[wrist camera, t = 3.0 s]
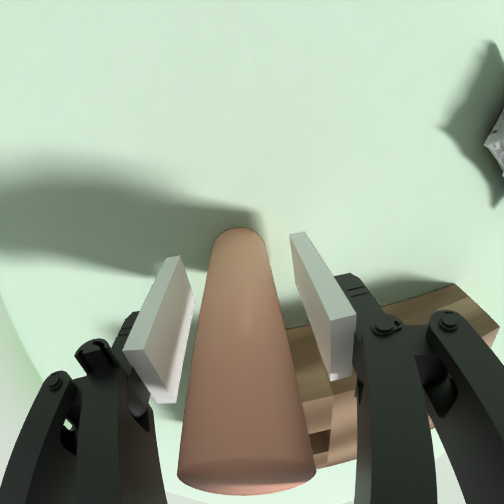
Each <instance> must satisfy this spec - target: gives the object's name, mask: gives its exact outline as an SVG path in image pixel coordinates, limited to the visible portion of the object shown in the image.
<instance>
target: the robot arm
mask: <svg viewBox="0 0 504 504" xmlns="http://www.w3.org/2000/svg"><path fill="white" fill-rule="evenodd" d="M289 236H290V244H291V251H292V259H293V267H294V275H295V283H296V286H297V289H298V291H299V294H300V297H301V300H302V302H303V305H304V308H305V311H306V313H307V316H308V319H309V322H310V324H311V327H312V330H313V333H314V336H315V339H316V341H317V344H318V347H319V350H320V353H321V356H322V359H323V362H324V365H325V367H326V370H327V373H328V376H329V379H330V381H334V380H338V379H342V378H346V377H349V376H352V368H353V367H354V370H355V372H356V374H357V381H356V388H355V395H354V397H357V466H356V485H355V498H354V504H437V485H436V471H435V461H434V452H433V444H432V437H431V431H430V425H429V419H428V414H429V416H430V418H431V420H432V422H433V424H434V426H435V428H436V431H437V433H438V435H439V437H440V439H441V442H442V444H443V446H444V448H445V451H446V453H447V455H448V458H449V460H450V462H451V465H452V467H453V470H454V472H455V475H456V477H457V480H458V482H459V485H460V487H461V490H462V493H463V496H464V499H465V502H466V504H504V365H503V364H502V363H501V361H500V360H499V359H498V357H497V356H496V355H495V354H494V352H493V351H492V350H491V349H490V347H489V346H488V345H487V344H486V343H485V341H484V340H483V339H482V338H481V337H480V335H479V334H478V333H477V332H476V331H475V329H474V328H473V327H472V326H471V325H470V324H469V323H468V321H467V320H466V319H465V318H464V317H463V316H462V315H460V314H459V313H457V312H454V311H452V310H440V311H437V312H435V313H433V314H432V316H431V317H430V319H429V323H428V324H424V325H404V323H403V322H402V320H400V319H399V318H397V317H396V316H393V315H390V314H385V312H384V311H383V309H382V308H381V307H380V305H379V304H378V303H377V301H376V300H375V298H374V297H373V296H372V294H371V293H370V292H369V290H368V289H367V288H366V287H365V285H364V284H363V282H362V281H361V280H360V278H358V277H356V276H354V275H353V274H351V273H348V274H343V275H338V276H333V275H332V273H331V271H330V270H329V268H328V267H327V265H326V264H325V262H324V260H323V259H322V257H321V256H320V254H319V253H318V251H317V250H316V248H315V246H314V245H313V243H312V242H311V240H310V239H309V237H308V236H307V234H306V233H305V232H300V233H294V234H289ZM194 306H195V298H194V295H193V292H192V289H191V286H190V283H189V280H188V277H187V274H186V271H185V268H184V264H183V261H182V258H181V255H178V256H173V257H168V258H166V259H165V261H164V263H163V265H162V267H161V269H160V271H159V273H158V275H157V277H156V279H155V281H154V283H153V285H152V287H151V289H150V291H149V293H148V295H147V297H146V299H145V301H144V304H143V306H142V308H141V310H140V311H137V312H132V313H131V314H130V315H129V316H128V317H127V318H126V319H125V321H124V323H123V325H122V327H121V330H120V331H119V333H118V337H116V339H115V341H114V344H113V346H112V348H111V347H110V346H109V344H108V342H107V341H106V340H104V339H100V338H99V339H93V340H90V341H88V342H86V343H84V344H83V345H82V346H81V347H80V348H79V349H78V350H77V351H76V353H75V355H74V356H75V358H76V359H77V361H78V362H79V363H80V365H81V366H82V368H83V369H84V371H85V372H86V373H87V376H85V377H81V378H77V379H73V380H72V378H71V377H70V376H69V375H68V373H67V372H65V371H57V372H54V373H52V374H51V375H50V376H49V377H47V379H46V380H45V381H44V383H43V385H42V387H41V389H40V391H39V393H38V395H37V397H36V399H35V401H34V403H33V405H32V407H31V409H30V411H29V413H28V416H27V418H26V420H25V422H24V424H23V427H22V429H21V431H20V434H19V436H18V438H17V441H16V443H15V446H14V448H13V451H12V454H11V457H10V459H9V462H8V465H7V468H6V471H5V474H4V477H3V480H2V484H1V487H0V504H167V499H166V495H165V490H164V485H163V479H162V474H161V468H160V462H159V455H158V448H157V441H156V433H155V425H154V415H153V410H152V408H151V406H150V405H149V404H148V402H149V398H150V395H151V396H152V398H153V399H154V400H155V402H156V403H157V404H166V403H176V401H177V395H178V389H179V383H180V378H181V372H182V367H183V361H184V356H185V351H186V345H187V340H188V335H189V330H190V325H191V320H192V316H193V311H194ZM427 412H428V414H427ZM65 419H67V420H68V421H69V422H70V423H71V424H72V425H73V426H72V428H71V429H70V430H68V429H67V428H66V427H65V426H64V425H63V424H64V422H65Z"/></svg>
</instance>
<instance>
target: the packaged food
mask: <svg viewBox="0 0 504 504" xmlns="http://www.w3.org/2000/svg"><path fill="white" fill-rule="evenodd" d="M485 142H486V143H484V146H486V147H487V148H488V149H489V150H490V151H491V153H492V155H493V156H494V157H495V158H496V160H497V162H498V164H499V165H500V167H501V169H502V171H503V177H504V109H503V111H502V112H501V113H500V115H499V118H498V120H497V122H496V124H495V126H494V128H493V130H492V131H491V133H490V134H489V136H488V137H487V140H486V141H485Z"/></svg>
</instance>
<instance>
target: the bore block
mask: <svg viewBox="0 0 504 504" xmlns="http://www.w3.org/2000/svg"><path fill="white" fill-rule="evenodd" d="M381 308H382V309H383V311H384V312H385V314H390V315H393V316H396V317H397V318H399V319H400V320H402V322H403V323H404V325H424V324H428V323H429V319H430V317H431V316H432V314H433V313H435V312H437V311H440V310H452V311H454V312H457V313H459V314H460V315H462V316H463V317H464V318H465V319H466V320H467V321H468V323H469V324H470V325H471V326H472V327H473V328H474V329H475V331H476V332H477V333H478V334H479V335H480V337H481V338H482V339H483V340H484V341H485V343H486V344H487V345H488V346H489V347H490V349H491V346H492V344H493V342H494V340H495V337H496V335H497V333H498V330H499V328H500V326H499V325H498V324H497V323H496V322H495V321H494V320H493V319H492V318H491V317H490V316H489V315H488V314H487V313H486V312H485V311H484V310H483V309H482V308H481V307H480V306H479V305H478V304H477V303H475V302H474V301H473V300H472V299H471V298H470V297H469V296H468V295H467V294H466V293H465V292H464V291H462V290H461V289H460V288H459V287H458V286H457V285H456V284H453V285H450V286H447V287H444V288H441V289H439V290H436V291H433V292H430V293H427V294H423V295H420V296H417V297H414V298H411V299H408V300H404V301H401V302H398V303H394V304H391V305H387V306H384V307H381ZM286 334H287V339H288V343H289V347H290V352H291V356H292V361H293V365H294V369H295V374H296V378H297V383H298V387H299V392H300V396H301V401H302V405H303V410H304V415H305V419H306V424H307V428H308V433H309V438H310V443H311V447H312V452H313V457H314V462H315V466H316V469H320V468H325V467H329V466H333V465H337V464H340V463H344V462H348V461H351V460H355V459H357V397H354V395H355V388H356V381H357V374H356V372H355V370H354V367H353V368H352V376H349V377H346V378H342V379H338V380H334V381H330V379H329V376H328V373H327V370H326V367H325V365H324V362H323V359H322V356H321V353H320V350H319V347H318V344H317V341H316V339H315V336H314V333H313V330H312V327H311V325H307V326H302V327H297V328H292V329H287V330H286ZM427 414H428V412H427ZM428 419H429V425H430V430H431V429H433V428H435V426H434V424H433V422H432V420H431V418H430V416H429V414H428Z"/></svg>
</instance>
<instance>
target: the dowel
mask: <svg viewBox="0 0 504 504" xmlns="http://www.w3.org/2000/svg"><path fill="white" fill-rule="evenodd" d="M315 474H316V466H315V462H314V457H313V452H312V447H311V443H310V438H309V433H308V428H307V424H306V419H305V415H304V410H303V405H302V401H301V396H300V392H299V387H298V383H297V378H296V374H295V369H294V365H293V361H292V356H291V352H290V347H289V343H288V339H287V334H286V330H285V326H284V321H283V317H282V313H281V309H280V304H279V300H278V296H277V292H276V288H275V283H274V279H273V275H272V271H271V267H270V263H269V258H268V254H267V250H266V246H265V243H264V241H263V240H262V238H261V237H260V236H259V235H258V234H257V233H255V232H254V231H252V230H250V229H247V228H232V229H229V230H226V231H225V232H223V233H222V234H220V235H219V236H218V238H217V239H216V240H215V242H214V244H213V248H212V253H211V258H210V263H209V268H208V273H207V278H206V283H205V288H204V294H203V299H202V304H201V310H200V316H199V321H198V327H197V333H196V339H195V345H194V351H193V357H192V363H191V370H190V376H189V383H188V390H187V397H186V404H185V411H184V419H183V426H182V434H181V443H180V451H179V460H178V470H177V476H178V478H179V480H181V481H182V482H183V483H185V484H186V485H188V486H190V487H193V488H195V489H199V490H202V491H206V492H210V493H216V494H223V495H240V496H245V495H261V494H269V493H275V492H280V491H284V490H288V489H291V488H294V487H297V486H299V485H301V484H303V483H305V482H307V481H309V480H310V479H311V478H313V477H314V475H315Z"/></svg>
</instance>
